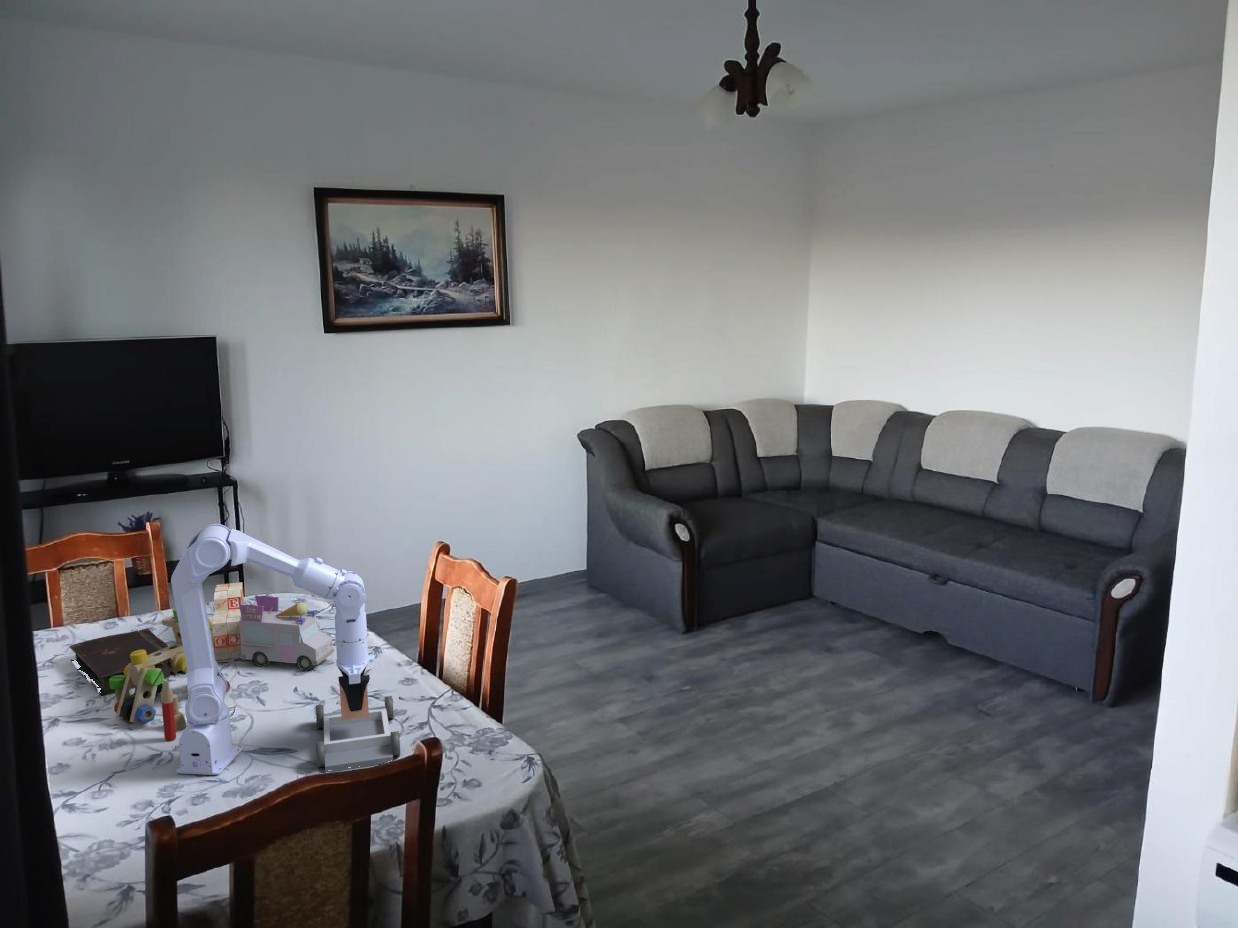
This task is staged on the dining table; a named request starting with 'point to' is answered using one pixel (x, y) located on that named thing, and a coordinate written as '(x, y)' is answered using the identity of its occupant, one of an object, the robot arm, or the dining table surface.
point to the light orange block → (347, 714)
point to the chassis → (356, 739)
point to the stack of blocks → (227, 620)
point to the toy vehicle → (282, 634)
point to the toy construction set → (152, 684)
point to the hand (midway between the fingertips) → (355, 703)
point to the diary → (115, 656)
